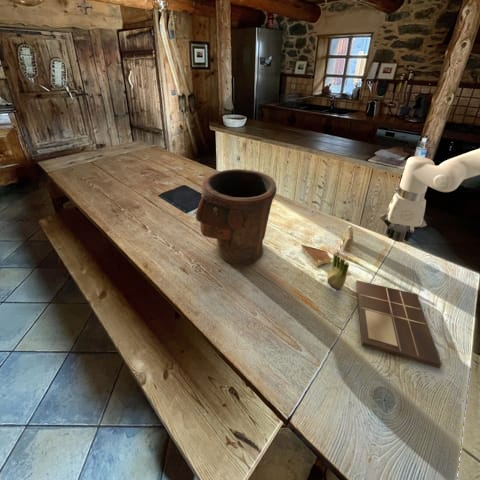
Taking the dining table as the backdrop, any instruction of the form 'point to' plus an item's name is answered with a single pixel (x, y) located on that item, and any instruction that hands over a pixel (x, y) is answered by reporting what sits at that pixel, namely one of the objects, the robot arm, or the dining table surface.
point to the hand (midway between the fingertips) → (397, 236)
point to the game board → (395, 323)
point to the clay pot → (236, 213)
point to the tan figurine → (347, 239)
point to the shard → (317, 255)
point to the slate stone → (399, 233)
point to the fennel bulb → (337, 272)
